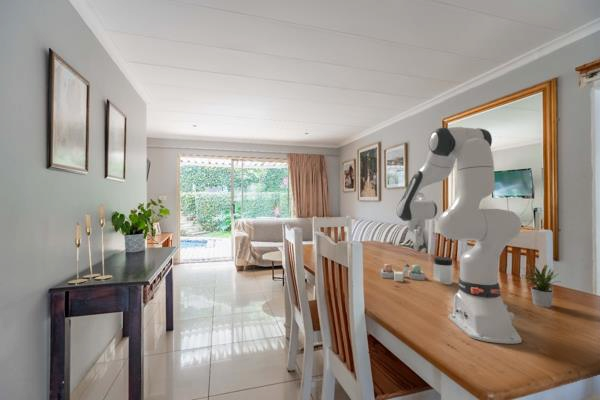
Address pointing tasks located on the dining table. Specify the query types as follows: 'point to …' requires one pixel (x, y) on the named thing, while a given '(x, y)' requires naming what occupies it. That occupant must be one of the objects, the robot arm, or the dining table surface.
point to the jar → (443, 270)
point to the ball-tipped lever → (405, 269)
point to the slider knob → (398, 276)
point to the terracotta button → (387, 267)
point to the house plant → (541, 287)
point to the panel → (410, 274)
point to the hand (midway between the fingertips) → (415, 250)
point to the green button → (416, 269)
